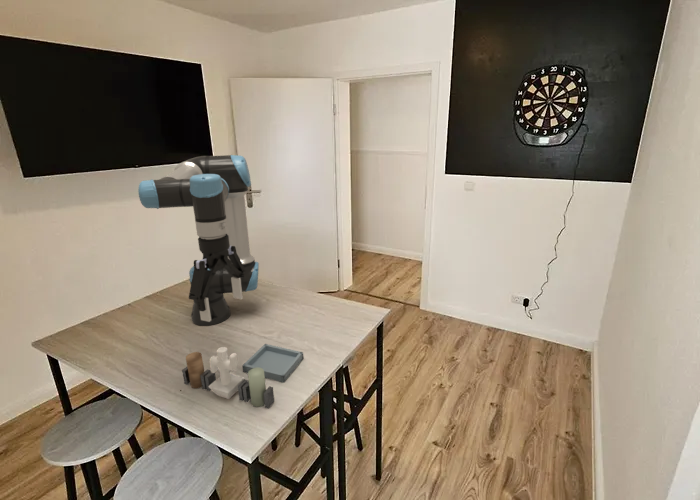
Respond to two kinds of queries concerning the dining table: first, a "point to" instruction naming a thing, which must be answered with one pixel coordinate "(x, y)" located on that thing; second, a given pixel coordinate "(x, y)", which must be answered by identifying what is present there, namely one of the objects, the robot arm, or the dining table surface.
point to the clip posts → (243, 387)
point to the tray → (274, 362)
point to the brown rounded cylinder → (195, 369)
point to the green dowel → (257, 386)
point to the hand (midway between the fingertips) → (223, 308)
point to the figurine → (225, 373)
